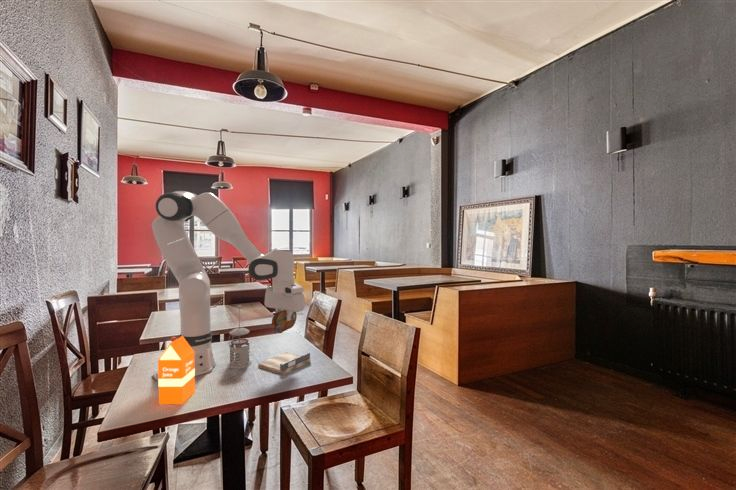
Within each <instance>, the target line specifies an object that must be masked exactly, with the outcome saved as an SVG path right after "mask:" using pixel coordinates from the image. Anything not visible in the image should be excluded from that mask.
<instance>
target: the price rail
mask: <svg viewBox="0 0 736 490" xmlns="http://www.w3.org/2000/svg"><path fill="white" fill-rule="evenodd" d="M307 359H310V360H311V352H305V353H303V354H300V355H299V356H298V357H296V358H293V359H291V360H288V361H286V362H284V363H281V364H280V370H282V371H283V370H285V369H287V368H289V367H292V366H294V365H296V364H298V363H301V362H303V361H305V360H307Z"/></svg>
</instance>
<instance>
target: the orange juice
mask: <svg viewBox="0 0 736 490" xmlns="http://www.w3.org/2000/svg"><path fill="white" fill-rule="evenodd" d="M177 338H178V337H177ZM157 367H158V368H157V369H158V370H157V371H158V380H157V383H158V384H157V385H158V405H159V404H183V403H184V402H185V401H186V400H187V399H188V398H189V397H190V396H191V395H192V396H193V395H194V394H195V392H196V384H195V383H196V380H195V377H196V376H195V367H194V351H193V349H192V348H191V347H190V345H189V344H188V342H187V341H186V340H185V338H184V337H183V336H181V337H180V338H178V339H176V340H175V341H173V342H172V341H171V342H170V343H169V344H168V346H167V347H166V348H165V350H164V351H163V353H162V354H161V355H160V356H159V359H158V360H157ZM192 396H191V397H192ZM191 397H190V398H191ZM190 398H189V399H190ZM189 399H188V400H189ZM188 400H187V401H188ZM187 401H186V402H187ZM186 402H185V403H186ZM185 403H184V404H185ZM184 404H183V405H184Z"/></svg>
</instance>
